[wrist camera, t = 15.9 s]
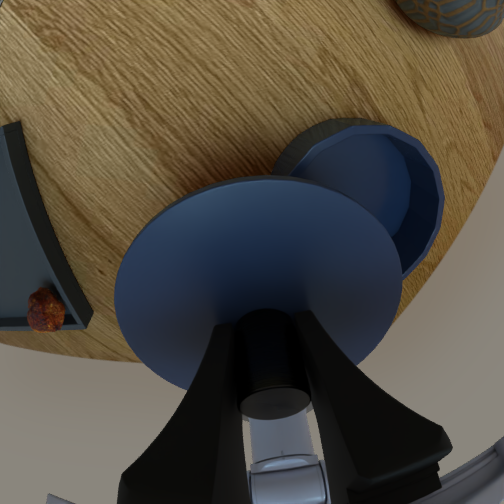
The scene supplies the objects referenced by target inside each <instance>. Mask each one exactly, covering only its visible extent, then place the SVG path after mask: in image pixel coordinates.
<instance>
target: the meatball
mask: <svg viewBox="0 0 504 504" xmlns="http://www.w3.org/2000/svg"><path fill="white" fill-rule="evenodd" d="M53 294H54V293H52V291H50V290H49V289H48V288H43V287H40V288H38V290H37V291H36V292H33V294H30V297H29V299H28V308H29V311H28V312H27V320H28V322H29V325H30V327H31V329H33V330H34V331H36V332H39V333H41V332H45V333H47V332H55V331H57V330H60V329H61V327H62V325H63V321H64V318H65V317H64V315H65V307H64V305H63V304H62V302H60V301H59V300H58V299H57V298H56V297H57V296H56V295H55V296H54V295H53Z"/></svg>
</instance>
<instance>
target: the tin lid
mask: <svg viewBox="0 0 504 504" xmlns="http://www.w3.org/2000/svg"><path fill="white" fill-rule="evenodd" d="M401 292H402V269H401V263H400V258H399V255H398V252H397V250H396V247H395V244H394V242H393V240H392V239H391V237H390V235H389V234H388V232H387V230H386V229H385V228H384V227H383V225H382V224H381V223H380V222H379V221H378V220H377V218H376V217H375V216H374V215H373V214H372V213H371V212H370V211H369V210H367V209H366V208H365V207H364V206H362V205H361V204H360V203H359V202H357V201H356V200H355V199H353V198H351V197H350V196H348V195H346V194H344V193H342V192H341V191H339V190H337V189H335V188H332V187H329V186H327V185H324V184H321V183H318V182H315V181H312V180H307V179H302V178H296V177H291V176H275V175H259V176H248V177H238V178H234V179H230V180H226V181H221V182H217V183H213V184H211V185H208V186H205V187H203V188H200V189H198V190H195V191H193V192H190V193H188V194H187V195H185V196H183V197H181V198H180V199H178V200H176V201H174V202H173V203H171V204H169V205H168V206H167V207H165V208H164V209H163V210H162V211H160V212H159V213H158V214H157V215H155V216H154V217H153V218H152V219H151V220H150V221H149V222H148V223H147V224H146V225H145V226H144V227H143V229H142V230H141V231H140V232H139V233H138V234H137V236H136V237H135V239H134V240H133V242H132V244H131V245H130V247H129V248H128V250H127V252H126V254H125V255H124V258H123V260H122V263H121V265H120V268H119V270H118V273H117V278H116V283H115V293H114V304H115V310H116V316H117V320H118V323H119V326H120V329H121V332H122V334H123V336H124V338H125V340H126V341H127V343H128V345H129V346H130V348H131V349H132V350H133V352H134V353H135V354H136V356H137V357H138V358H139V359H140V360H141V361H142V362H143V363H144V364H145V365H146V366H147V367H149V368H150V369H151V370H152V371H153V372H155V373H156V374H157V375H159V376H160V377H162V378H163V379H165V380H166V381H168V382H170V383H172V384H174V385H176V386H178V387H180V388H182V389H185V390H187V391H188V389H189V387H190V385H191V383H192V381H193V379H194V377H195V375H196V373H197V370H198V368H199V366H200V363H201V361H202V359H203V356H204V354H205V351H206V349H207V346H208V343H209V340H210V337H211V334H212V331H213V327H214V326H215V325H219V324H226V323H231V324H232V327H233V331H234V337H235V374H236V396H237V408H238V410H239V412H240V413H241V414H243V415H244V416H246V417H249V418H252V419H257V420H276V419H282V418H286V417H289V416H292V415H295V414H297V413H299V412H301V411H302V410H304V409H305V408H306V407H307V406H308V405H309V404H310V402H311V399H312V395H311V391H310V386H309V382H308V378H307V374H306V370H305V366H304V362H303V358H302V353H301V349H300V345H299V341H298V337H297V333H296V329H295V315H294V313H296V312H302V311H307V310H311V311H312V312H313V313H314V314H315V316H316V318H317V319H318V321H319V322H320V324H321V325H322V326H323V328H324V329H325V330H326V332H327V333H328V334H329V336H330V337H331V338H332V339H333V341H334V342H335V343H336V344H337V345H338V347H339V348H340V349H341V350H342V351H343V352H344V354H345V355H346V356H347V357H348V358H349V359H350V360H351V361H352V362H353V363H354V364H355V365H358V364H359V363H360V362H361V361H362V360H364V359H365V358H366V357H367V356H368V355H369V354H370V353H371V352H372V351H373V350H374V349H375V347H376V346H377V345H378V344H379V342H380V341H381V340H382V339H383V337H384V335H385V334H386V333H387V331H388V329H389V328H390V326H391V324H392V322H393V320H394V317H395V315H396V313H397V310H398V306H399V303H400V299H401Z"/></svg>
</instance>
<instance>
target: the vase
mask: <svg viewBox="0 0 504 504" xmlns="http://www.w3.org/2000/svg"><path fill="white" fill-rule="evenodd" d="M396 2H397V4H398V5H399V7H400V8H401V9H402V10H403V12H404V13H405V14H406V15H407V16H408V17H409V18H411V19H412V20H413V21H414V22H416V23H417V24H418V25H420V26H421V27H423V28H425V29H427V30H429V31H431V32H433V33H436V34H439V35H442V36H446V37H451V38H476V37H480V36H483V35H486V34H488V33H490V32H491V31H493V30H495V29H496V28H497V27H498V26H499V25H500V23H501V22H502V20H503V18H504V0H396Z"/></svg>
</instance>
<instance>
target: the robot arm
mask: <svg viewBox="0 0 504 504" xmlns="http://www.w3.org/2000/svg"><path fill="white" fill-rule="evenodd" d="M294 315H295V329H296V333H297V337H298V341H299V345H300V349H301V353H302V358H303V362H304V366H305V370H306V374H307V378H308V382H309V386H310V391H311V395H312V399H311V403H312V406H313V409H314V412H315V415H316V419H317V423H318V428H319V433H320V438H321V443H322V449H323V454H324V460H325V461H324V460H319V461H318V457H317V455H314V450H313V445H312V440H311V435H310V431H309V425H308V421H307V416H306V408H307V407H306V408H305V409H304V410H302V411H301V412H299V413H297V414H295V415H292V416H289V417H286V418H282V419H276V420H257V419H252V418H249V417H248V419H249V422H250V435H251V447H252V458H253V464H251V465H250V467H251V470H249V471H246V463H245V454H244V444H243V432H242V414H241V413H240V412H239V410H238V408H237V396H236V374H235V337H234V331H233V327H232V324H231V323H226V324H219V325H215V326H214V327H213V331H212V334H211V337H210V340H209V343H208V346H207V349H206V351H205V354H204V356H203V359H202V361H201V363H200V366H199V368H198V370H197V373H196V375H195V377H194V379H193V381H192V383H191V385H190V387H189V389H188V391H187V393H186V394H185V396H184V398H183V400H182V401H181V403H180V405H179V406H178V408H177V410H176V411H175V413H174V414H173V416H172V417H171V419H170V420H169V421H168V423H167V424H166V426H165V427H164V428H163V430H162V431H161V432H160V434H159V435H158V436H157V437H156V439H155V440H154V441H153V442H152V443H151V444H150V446H149V447H148V448H147V449H146V450H145V451H144V453H143V454H142V455H141V456H140V457H139V458H138V459H137V460H136V461H135V462H134V463H133V464H131V465H130V467H128V468H127V469H126V470H125V471H124V472H123V473H122V475H121V480H120V483H119V488H118V498H117V504H500V503H501V502H502V501H503V500H504V437H502V438H501V439H500V440H498V441H497V442H496V443H495V444H494V445H493V446H491V447H490V448H489V449H487V450H486V451H484V452H483V453H481V454H480V455H478V456H476V457H475V458H473V459H472V460H470V461H468V462H467V463H465V464H464V465H462V466H460V467H458V468H457V469H455V470H453V471H451V472H450V473H448V474H446V475H444V476H443V477H440V478H439V476H438V473H437V471H439V470H440V468H439V465H438V461H440V460H441V459H442V458H444V457H445V456H446V455H448V454H449V453H450V452H451V451H452V448H453V447H452V444H451V442H450V439H449V437H448V436H447V434H446V432H445V431H444V429H443V427H442V426H440V425H438V424H436V423H434V422H432V421H430V420H428V419H426V418H425V417H423V416H421V415H419V414H417V413H416V412H414V411H412V410H411V409H409V408H408V407H406V406H405V405H403V404H402V403H400V402H399V401H397V400H396V399H395V398H393V397H392V396H390V395H389V394H387V393H386V392H385V391H384V390H382V389H381V388H380V387H379V386H378V385H376V384H375V383H374V382H373V381H372V380H371V379H369V378H368V377H367V376H366V375H365V374H364V373H363V372H362V371H361V370H360V369H359V368H358V367H357V366H356V365H355V364H354V363H353V362H352V361H351V360H350V359H349V358H348V357H347V356H346V355H345V354H344V352H343V351H342V350H341V349H340V348H339V347H338V345H337V344H336V343H335V342H334V341H333V339H332V338H331V337H330V336H329V334H328V333H327V332H326V330H325V329H324V328H323V326H322V325H321V324H320V322H319V321H318V319H317V318H316V316H315V314H314V313H313V312H312V311H311V310H307V311H302V312H296V313H294ZM46 504H75V503H72V502H70V501H67V500H64V499H62V498H59V497H57V496H54V495H52V494H48V495H47V502H46Z"/></svg>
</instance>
